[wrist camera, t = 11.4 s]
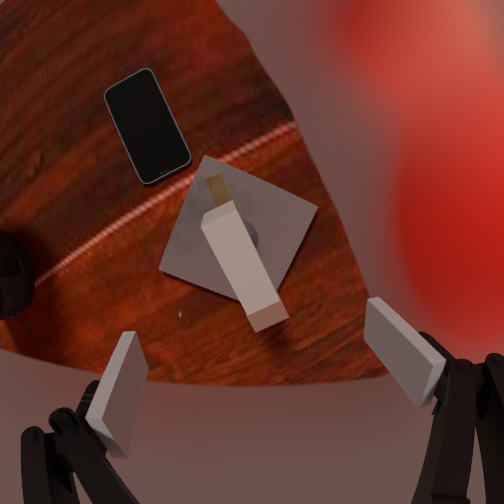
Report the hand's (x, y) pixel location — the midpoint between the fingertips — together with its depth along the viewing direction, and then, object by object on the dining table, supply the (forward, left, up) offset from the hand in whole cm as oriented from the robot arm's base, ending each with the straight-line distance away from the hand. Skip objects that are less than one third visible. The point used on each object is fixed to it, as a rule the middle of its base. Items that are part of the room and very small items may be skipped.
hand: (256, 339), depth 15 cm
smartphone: (+9, +16, -25) cm, 32 cm away
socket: (0, 0, -25) cm, 25 cm away
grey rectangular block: (0, 0, -18) cm, 18 cm away
